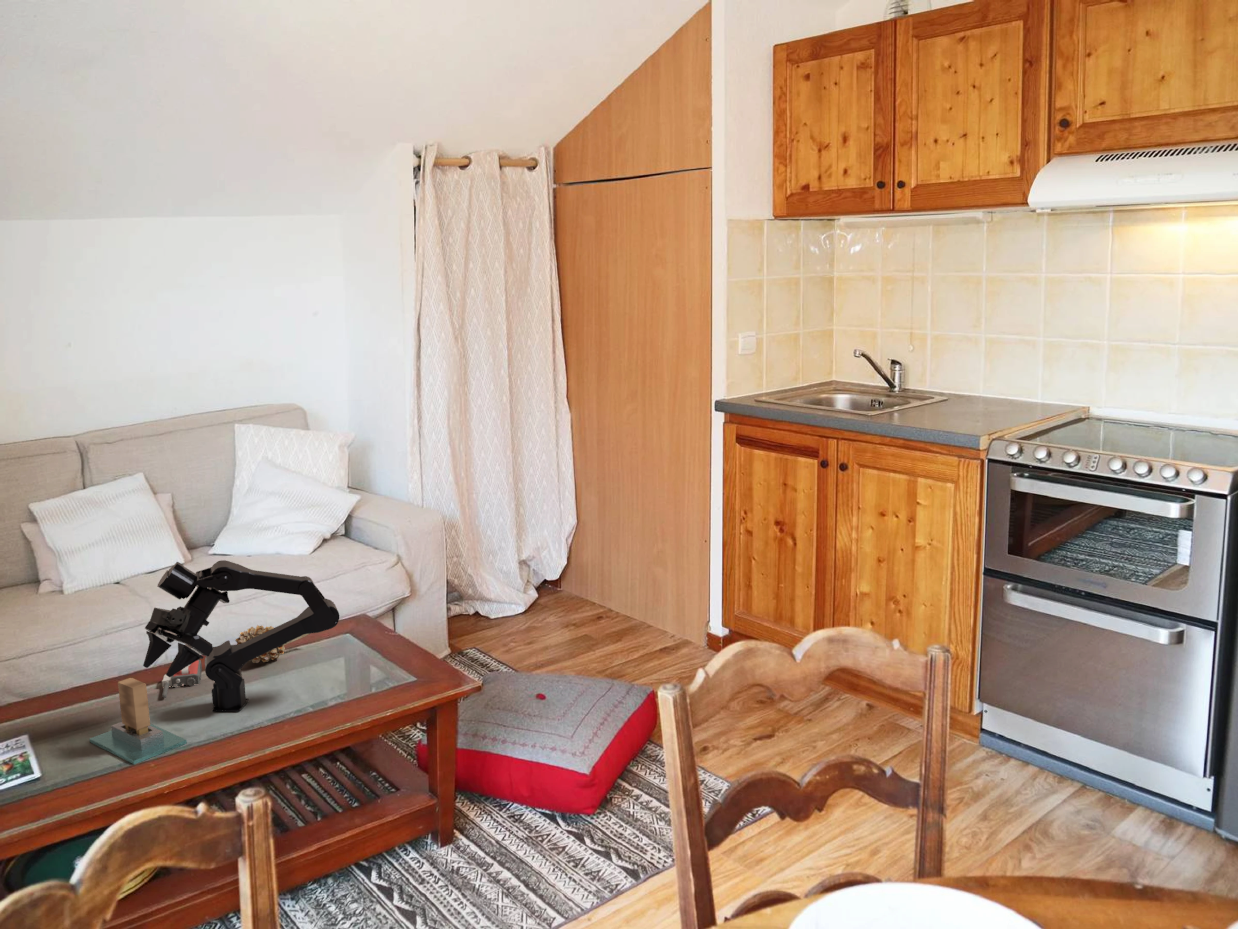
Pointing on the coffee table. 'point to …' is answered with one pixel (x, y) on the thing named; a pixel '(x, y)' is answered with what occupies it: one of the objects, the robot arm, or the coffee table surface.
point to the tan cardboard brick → (134, 705)
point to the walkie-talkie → (183, 677)
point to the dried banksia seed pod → (258, 631)
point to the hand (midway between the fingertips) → (156, 671)
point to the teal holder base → (137, 742)
